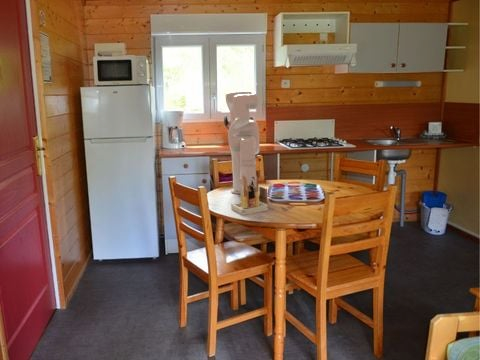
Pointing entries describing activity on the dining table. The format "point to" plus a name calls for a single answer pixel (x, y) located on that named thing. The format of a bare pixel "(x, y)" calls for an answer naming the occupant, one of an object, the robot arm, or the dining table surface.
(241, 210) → the tray
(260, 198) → the holder
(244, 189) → the candy box
